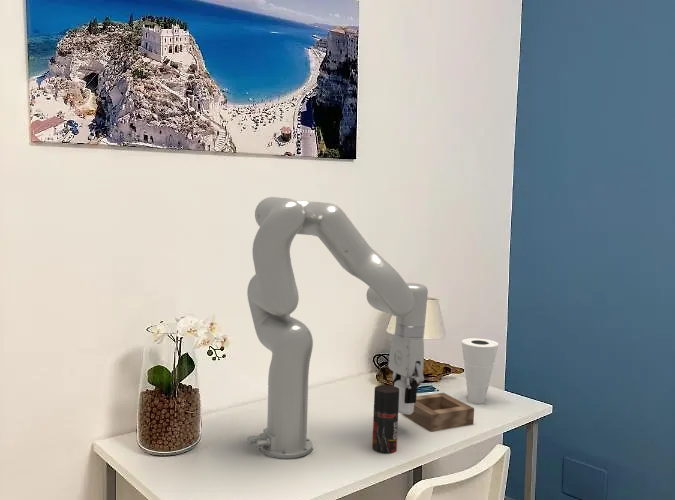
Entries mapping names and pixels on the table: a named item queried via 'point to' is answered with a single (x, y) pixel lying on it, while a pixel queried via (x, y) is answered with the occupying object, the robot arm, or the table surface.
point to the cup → (478, 366)
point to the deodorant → (385, 419)
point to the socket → (441, 412)
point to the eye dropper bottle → (403, 397)
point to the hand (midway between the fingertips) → (403, 398)
